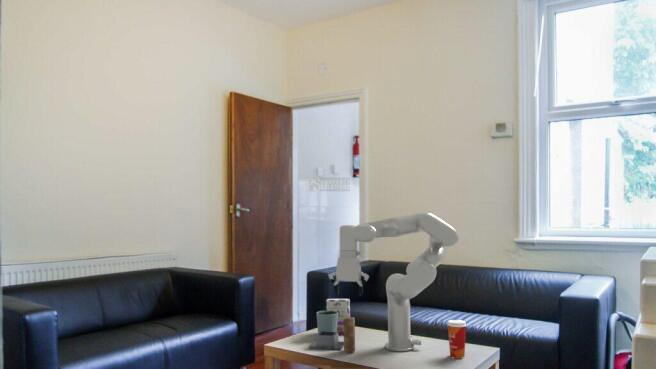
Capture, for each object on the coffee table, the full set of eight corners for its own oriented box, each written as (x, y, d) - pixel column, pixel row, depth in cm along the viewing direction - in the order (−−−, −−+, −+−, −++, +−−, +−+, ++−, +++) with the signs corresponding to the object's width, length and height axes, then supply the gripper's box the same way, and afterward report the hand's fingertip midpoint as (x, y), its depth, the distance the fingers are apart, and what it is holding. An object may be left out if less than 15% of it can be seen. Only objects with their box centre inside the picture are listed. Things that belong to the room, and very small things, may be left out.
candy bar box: (350, 332, 242) (350, 298, 243) (349, 335, 237) (348, 300, 238) (327, 331, 244) (327, 297, 244) (326, 334, 239) (325, 299, 239)
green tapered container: (314, 340, 227) (313, 314, 228) (319, 335, 237) (319, 309, 238) (335, 341, 225) (335, 315, 226) (340, 336, 235) (340, 310, 235)
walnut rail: (355, 350, 211) (354, 317, 212) (353, 353, 207) (353, 319, 208) (345, 350, 212) (345, 316, 213) (344, 352, 208) (343, 318, 209)
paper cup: (445, 353, 205) (445, 319, 206) (464, 353, 205) (463, 319, 206) (449, 359, 198) (449, 323, 198) (469, 359, 197) (468, 323, 198)
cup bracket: (345, 344, 221) (345, 331, 221) (340, 350, 211) (340, 337, 212) (314, 342, 224) (314, 330, 225) (308, 348, 215) (308, 335, 215)
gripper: (369, 253, 213) (370, 294, 212) (330, 253, 217) (330, 292, 216) (367, 255, 206) (367, 297, 205) (326, 254, 210) (326, 295, 209)
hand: (348, 295), depth 211 cm, fingers open, 9 cm apart
